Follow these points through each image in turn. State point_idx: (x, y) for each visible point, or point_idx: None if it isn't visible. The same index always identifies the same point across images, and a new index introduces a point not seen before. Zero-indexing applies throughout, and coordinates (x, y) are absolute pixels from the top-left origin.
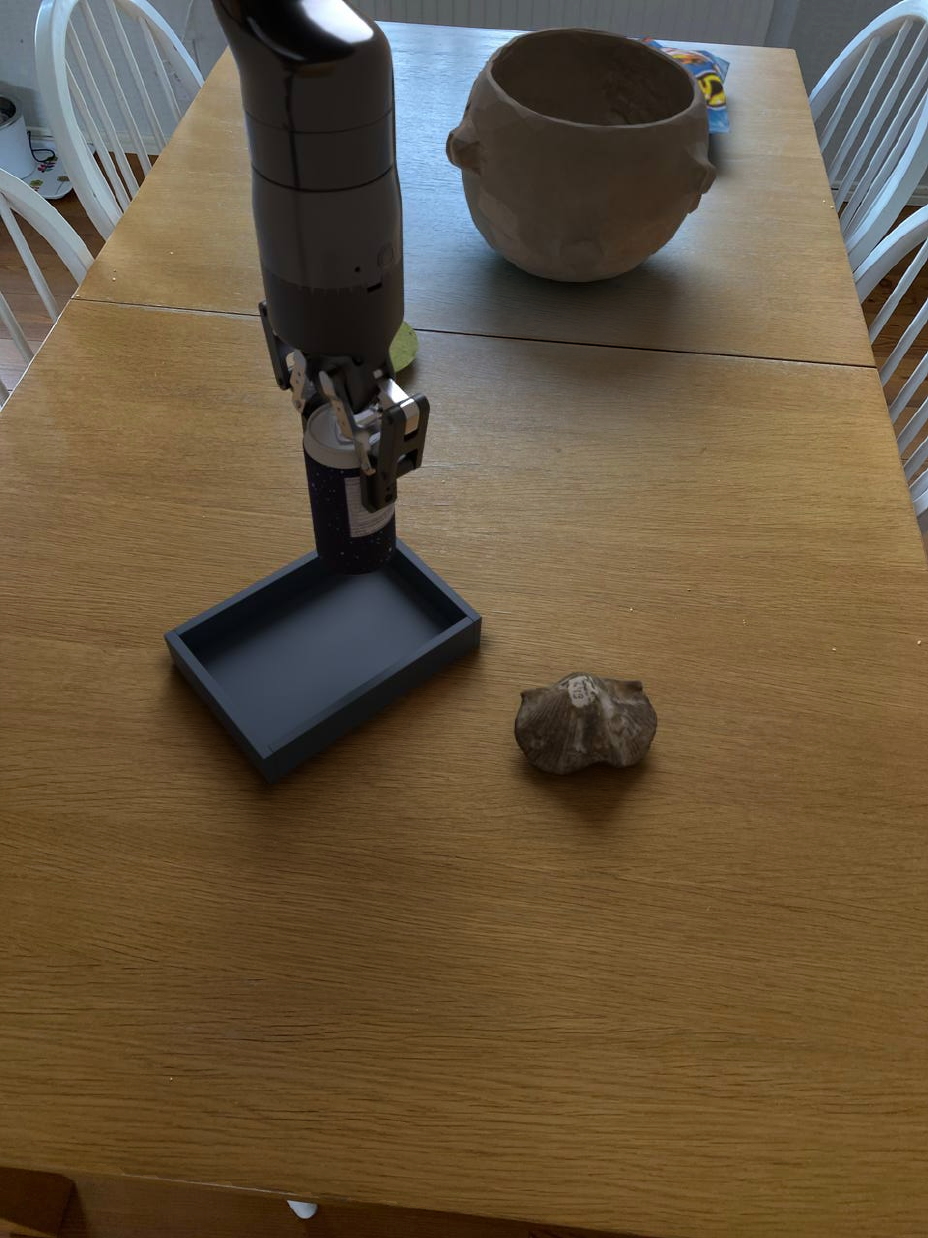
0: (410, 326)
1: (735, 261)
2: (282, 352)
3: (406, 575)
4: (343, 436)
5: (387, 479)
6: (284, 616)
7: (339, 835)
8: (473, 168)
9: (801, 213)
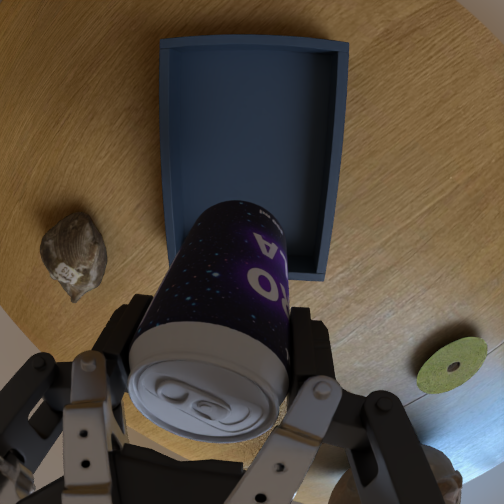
0: (433, 393)
1: (313, 484)
2: (385, 477)
3: None
4: (103, 403)
5: (29, 361)
6: (310, 149)
7: (109, 69)
8: (440, 483)
9: (310, 500)
